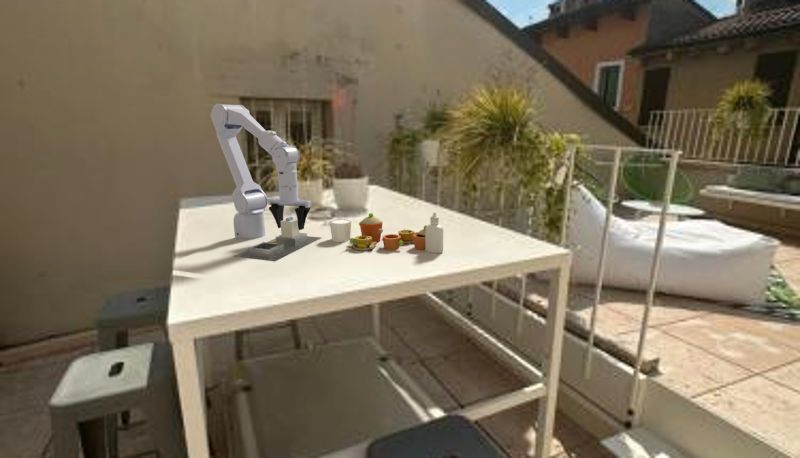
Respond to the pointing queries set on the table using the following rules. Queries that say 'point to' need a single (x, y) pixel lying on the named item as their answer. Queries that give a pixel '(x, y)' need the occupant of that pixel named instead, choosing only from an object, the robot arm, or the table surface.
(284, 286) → the table surface
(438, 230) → the eye dropper bottle
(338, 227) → the white cylinder
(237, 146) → the robot arm
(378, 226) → the toy tea set
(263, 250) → the panel
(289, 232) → the plug
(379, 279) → the table surface
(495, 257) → the table surface
